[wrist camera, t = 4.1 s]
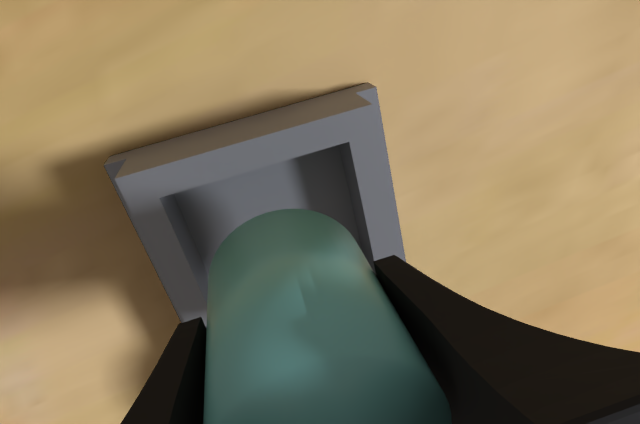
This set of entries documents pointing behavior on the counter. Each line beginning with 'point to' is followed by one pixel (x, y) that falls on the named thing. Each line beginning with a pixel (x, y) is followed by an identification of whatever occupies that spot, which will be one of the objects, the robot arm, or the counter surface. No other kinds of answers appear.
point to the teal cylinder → (308, 332)
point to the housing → (259, 185)
